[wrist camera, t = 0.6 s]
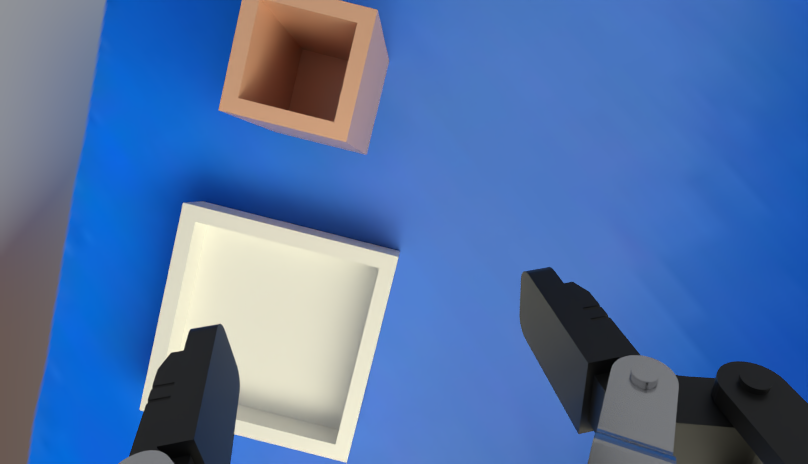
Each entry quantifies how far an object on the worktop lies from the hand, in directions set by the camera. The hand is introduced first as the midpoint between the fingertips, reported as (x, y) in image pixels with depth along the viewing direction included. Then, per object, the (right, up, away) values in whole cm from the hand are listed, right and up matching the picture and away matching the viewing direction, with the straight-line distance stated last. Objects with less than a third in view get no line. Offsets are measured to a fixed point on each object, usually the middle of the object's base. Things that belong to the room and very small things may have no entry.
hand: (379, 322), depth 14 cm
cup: (-4, +11, +21) cm, 24 cm away
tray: (-8, -4, +22) cm, 24 cm away
